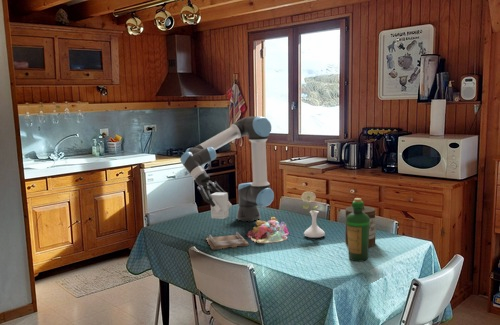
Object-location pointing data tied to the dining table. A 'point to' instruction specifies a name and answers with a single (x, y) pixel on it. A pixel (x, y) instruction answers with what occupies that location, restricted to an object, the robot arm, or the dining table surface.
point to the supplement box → (220, 205)
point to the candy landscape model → (268, 231)
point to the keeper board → (226, 241)
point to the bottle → (358, 232)
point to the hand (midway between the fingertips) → (224, 208)
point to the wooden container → (371, 215)
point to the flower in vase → (313, 229)
